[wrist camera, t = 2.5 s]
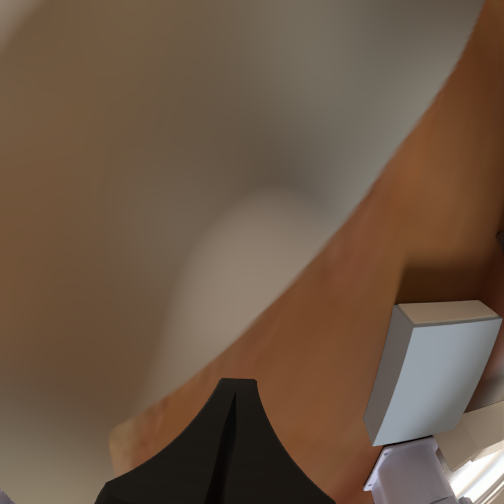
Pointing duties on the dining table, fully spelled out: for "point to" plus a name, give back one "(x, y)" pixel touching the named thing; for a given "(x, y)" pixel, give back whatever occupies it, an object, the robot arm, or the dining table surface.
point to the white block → (429, 368)
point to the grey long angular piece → (501, 239)
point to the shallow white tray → (473, 436)
